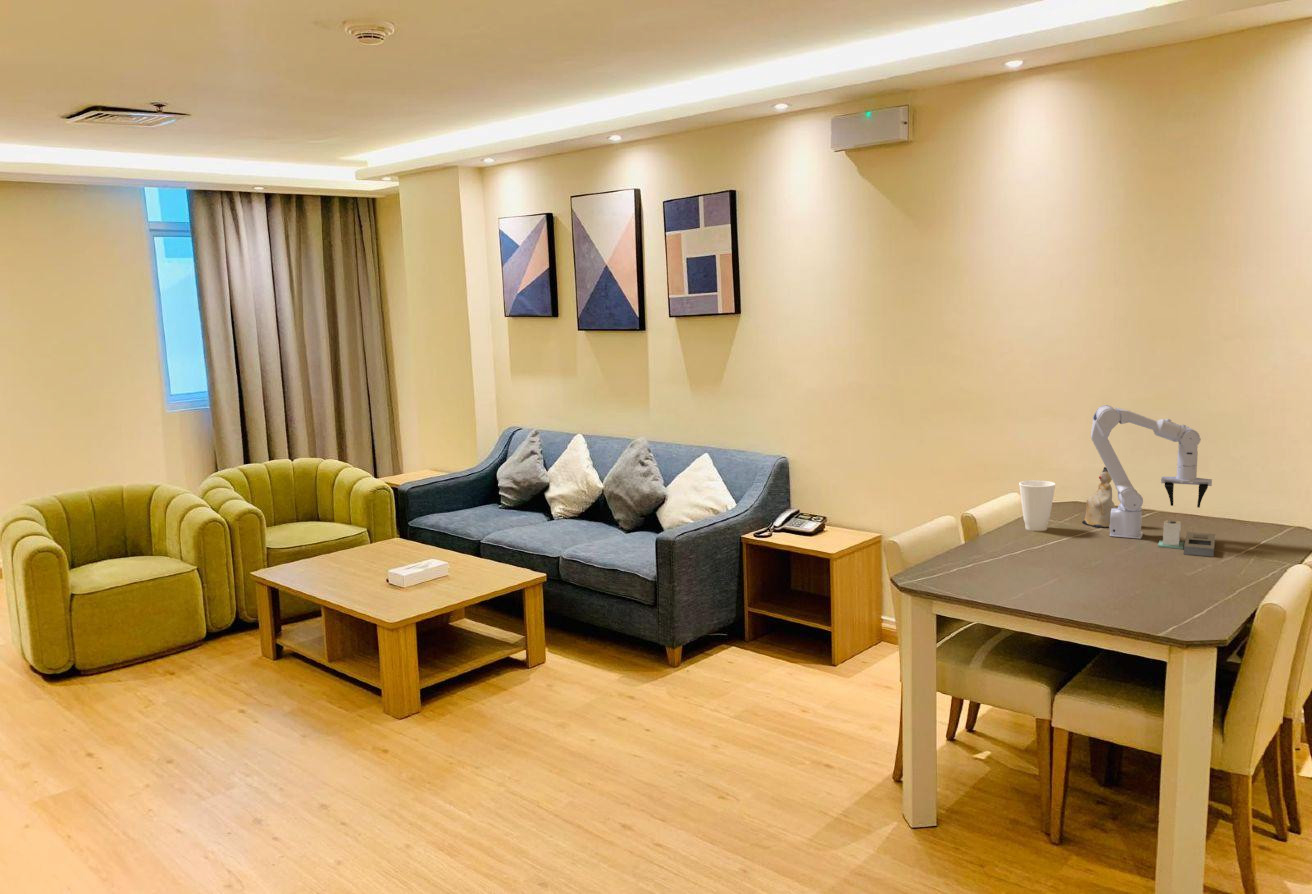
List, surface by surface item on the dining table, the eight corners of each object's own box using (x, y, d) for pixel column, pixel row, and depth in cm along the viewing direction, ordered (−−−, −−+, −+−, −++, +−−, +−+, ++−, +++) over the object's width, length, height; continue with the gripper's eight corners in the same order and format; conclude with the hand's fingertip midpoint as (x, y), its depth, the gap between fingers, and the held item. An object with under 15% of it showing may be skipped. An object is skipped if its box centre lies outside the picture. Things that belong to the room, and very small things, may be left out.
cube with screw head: (1162, 544, 317) (1163, 522, 316) (1163, 541, 321) (1164, 519, 320) (1178, 546, 315) (1179, 523, 314) (1179, 542, 319) (1180, 520, 318)
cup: (1010, 527, 349) (1011, 482, 346) (1035, 523, 354) (1036, 478, 351) (1036, 534, 338) (1037, 487, 336) (1062, 529, 343) (1063, 484, 341)
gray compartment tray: (1183, 554, 307) (1184, 546, 307) (1186, 539, 325) (1187, 531, 324) (1213, 556, 303) (1213, 548, 303) (1215, 541, 321) (1215, 533, 320)
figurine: (1076, 522, 353) (1078, 466, 350) (1101, 519, 356) (1103, 464, 353) (1100, 529, 342) (1102, 471, 339) (1125, 526, 345) (1127, 469, 342)
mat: (1158, 547, 317) (1158, 545, 317) (1159, 541, 323) (1159, 540, 323) (1182, 549, 313) (1183, 547, 313) (1184, 544, 319) (1184, 542, 319)
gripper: (1161, 465, 324) (1159, 506, 326) (1212, 468, 317) (1210, 510, 319) (1162, 462, 330) (1160, 502, 332) (1212, 464, 323) (1210, 505, 325)
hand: (1185, 506), depth 326 cm, fingers open, 7 cm apart
